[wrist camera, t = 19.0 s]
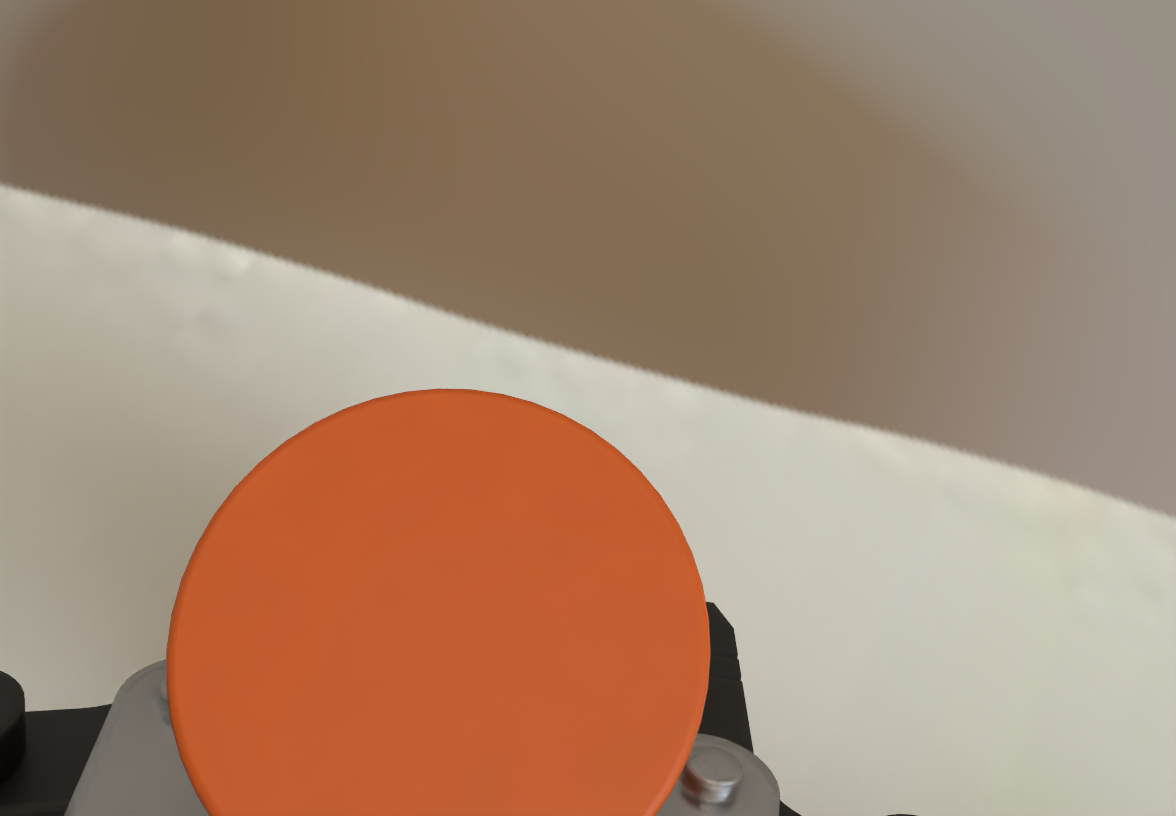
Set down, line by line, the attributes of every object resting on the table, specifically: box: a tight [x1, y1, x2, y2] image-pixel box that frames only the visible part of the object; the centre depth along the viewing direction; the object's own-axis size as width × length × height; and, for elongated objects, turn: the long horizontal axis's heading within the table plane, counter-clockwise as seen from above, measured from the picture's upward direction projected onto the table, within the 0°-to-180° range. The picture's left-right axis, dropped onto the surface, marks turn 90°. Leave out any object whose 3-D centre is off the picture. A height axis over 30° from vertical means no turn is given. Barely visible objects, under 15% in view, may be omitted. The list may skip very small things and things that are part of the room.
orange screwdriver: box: [166, 389, 711, 816], centre depth 13 cm, size 3×3×15 cm
